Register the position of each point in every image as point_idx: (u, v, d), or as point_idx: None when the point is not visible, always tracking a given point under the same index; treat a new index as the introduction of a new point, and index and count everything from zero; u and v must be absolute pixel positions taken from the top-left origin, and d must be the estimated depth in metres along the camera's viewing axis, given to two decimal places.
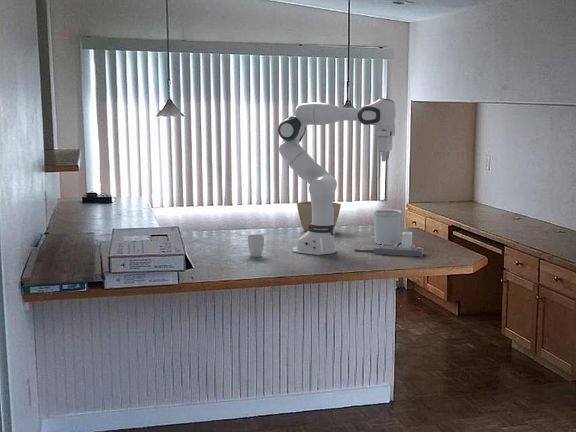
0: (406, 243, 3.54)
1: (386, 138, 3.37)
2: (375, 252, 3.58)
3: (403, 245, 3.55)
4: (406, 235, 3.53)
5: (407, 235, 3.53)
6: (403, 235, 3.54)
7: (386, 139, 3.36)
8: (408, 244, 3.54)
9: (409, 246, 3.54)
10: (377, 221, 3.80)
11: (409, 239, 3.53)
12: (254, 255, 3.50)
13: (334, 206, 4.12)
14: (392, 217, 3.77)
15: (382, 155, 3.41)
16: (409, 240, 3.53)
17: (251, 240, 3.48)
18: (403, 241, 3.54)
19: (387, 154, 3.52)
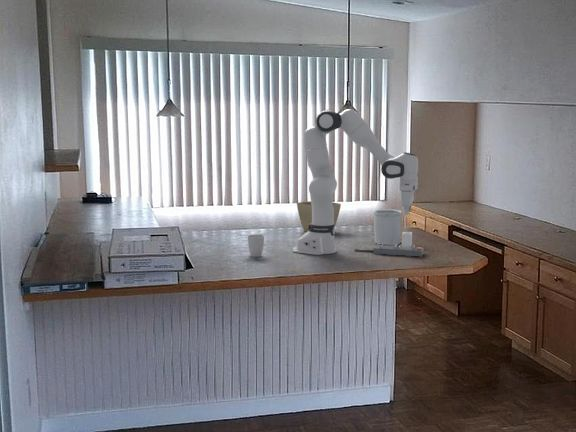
0: (406, 243, 3.54)
1: (409, 193, 3.43)
2: (375, 252, 3.58)
3: (403, 245, 3.55)
4: (406, 235, 3.53)
5: (407, 235, 3.53)
6: (403, 235, 3.54)
7: (409, 194, 3.43)
8: (408, 244, 3.54)
9: (409, 246, 3.54)
10: (377, 221, 3.80)
11: (409, 239, 3.53)
12: (254, 255, 3.50)
13: (334, 206, 4.12)
14: (392, 217, 3.77)
15: (405, 208, 3.48)
16: (409, 240, 3.53)
17: (251, 240, 3.48)
18: (403, 241, 3.54)
19: (409, 206, 3.59)
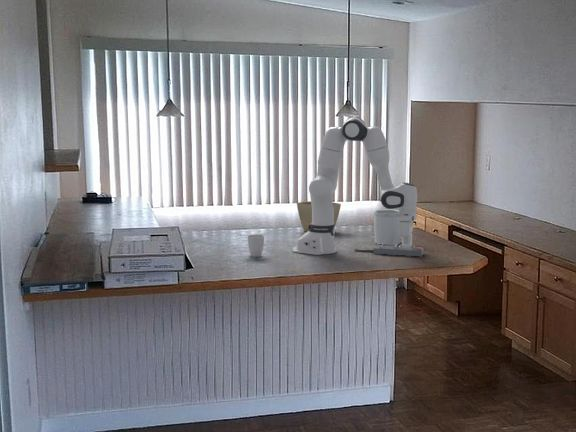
0: None
1: (408, 223, 3.45)
2: (375, 252, 3.58)
3: (403, 245, 3.55)
4: None
5: None
6: None
7: (408, 224, 3.45)
8: (408, 244, 3.54)
9: (409, 246, 3.54)
10: (377, 221, 3.80)
11: (409, 239, 3.53)
12: (254, 255, 3.50)
13: (334, 206, 4.12)
14: (392, 217, 3.77)
15: (404, 238, 3.52)
16: (409, 240, 3.53)
17: (251, 240, 3.48)
18: (403, 241, 3.54)
19: None
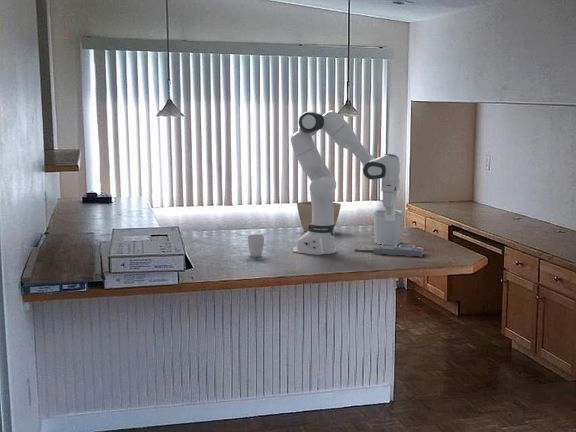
0: None
1: (391, 193, 3.46)
2: (375, 252, 3.58)
3: (386, 216, 3.55)
4: None
5: None
6: None
7: (391, 194, 3.46)
8: (391, 215, 3.54)
9: (392, 217, 3.54)
10: (377, 221, 3.80)
11: (392, 210, 3.54)
12: (254, 255, 3.50)
13: (334, 206, 4.12)
14: None
15: (387, 209, 3.52)
16: (392, 211, 3.54)
17: (251, 240, 3.48)
18: (386, 212, 3.55)
19: None
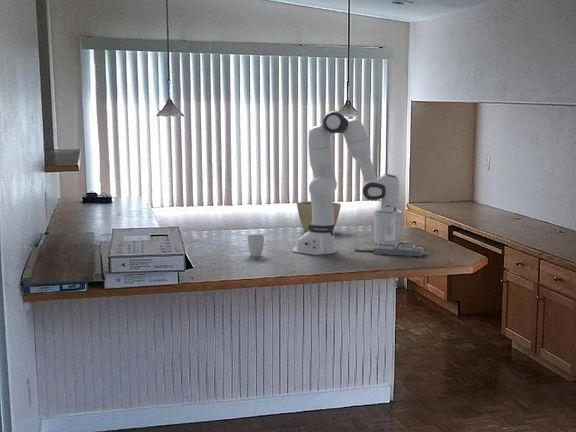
0: None
1: (390, 214, 3.47)
2: (375, 252, 3.58)
3: (386, 236, 3.57)
4: None
5: None
6: None
7: (390, 215, 3.47)
8: (391, 235, 3.56)
9: (392, 237, 3.56)
10: (377, 221, 3.80)
11: (392, 230, 3.55)
12: (254, 255, 3.50)
13: (334, 206, 4.12)
14: None
15: (387, 229, 3.54)
16: (392, 231, 3.55)
17: (251, 240, 3.48)
18: (386, 232, 3.56)
19: None
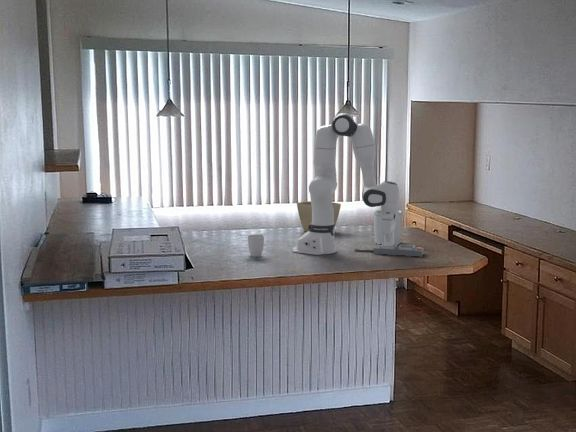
0: (388, 242, 3.57)
1: (390, 221, 3.48)
2: (375, 252, 3.58)
3: (385, 244, 3.57)
4: None
5: None
6: None
7: (390, 222, 3.48)
8: (390, 243, 3.56)
9: (391, 245, 3.56)
10: (377, 221, 3.80)
11: (391, 238, 3.56)
12: (254, 255, 3.50)
13: (334, 206, 4.12)
14: None
15: (386, 236, 3.53)
16: (391, 238, 3.56)
17: (251, 240, 3.48)
18: (385, 240, 3.57)
19: None
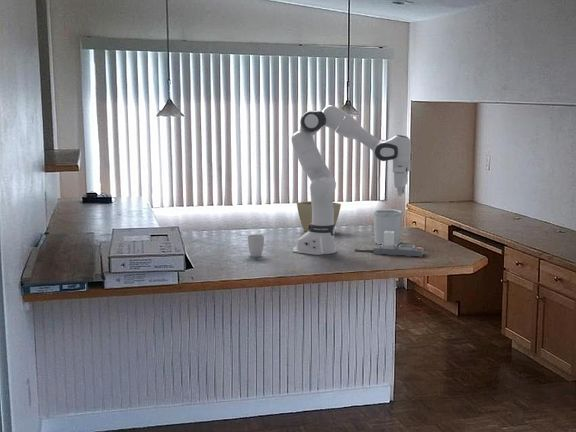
0: (388, 242, 3.57)
1: (402, 174, 3.48)
2: (375, 252, 3.58)
3: (385, 244, 3.57)
4: (388, 234, 3.56)
5: (389, 234, 3.56)
6: (385, 234, 3.56)
7: (402, 175, 3.48)
8: (390, 243, 3.56)
9: (391, 245, 3.56)
10: (377, 221, 3.80)
11: (391, 238, 3.56)
12: (254, 255, 3.50)
13: (334, 206, 4.12)
14: (392, 217, 3.77)
15: (398, 190, 3.52)
16: (391, 238, 3.56)
17: (251, 240, 3.48)
18: (385, 240, 3.57)
19: (403, 188, 3.63)
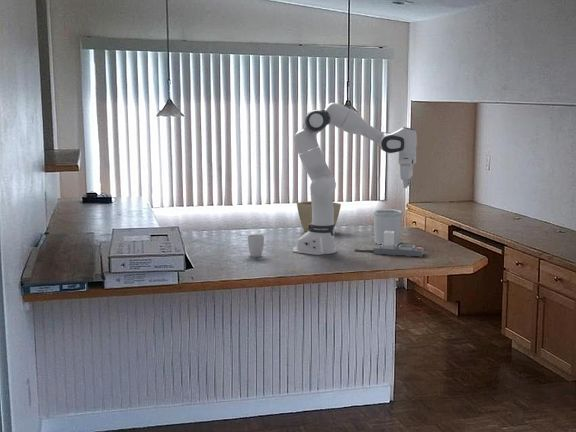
0: (388, 242, 3.57)
1: (408, 166, 3.49)
2: (375, 252, 3.58)
3: (385, 244, 3.57)
4: (388, 234, 3.56)
5: (389, 234, 3.56)
6: (385, 234, 3.56)
7: (408, 167, 3.49)
8: (390, 243, 3.56)
9: (391, 245, 3.56)
10: (377, 221, 3.80)
11: (391, 238, 3.56)
12: (254, 255, 3.50)
13: (334, 206, 4.12)
14: (392, 217, 3.77)
15: (404, 182, 3.54)
16: (391, 238, 3.56)
17: (251, 240, 3.48)
18: (385, 240, 3.57)
19: (408, 180, 3.64)
